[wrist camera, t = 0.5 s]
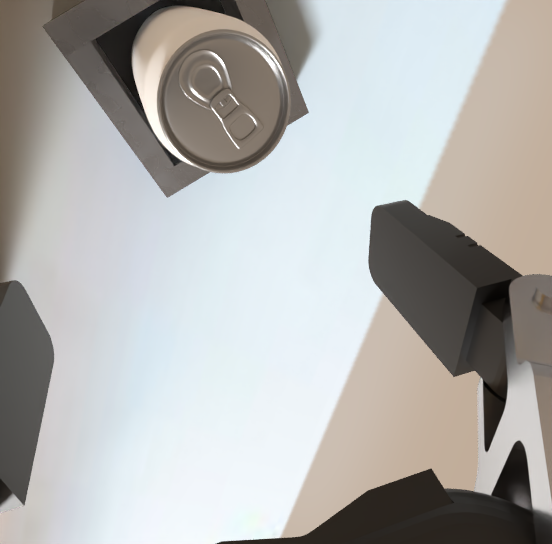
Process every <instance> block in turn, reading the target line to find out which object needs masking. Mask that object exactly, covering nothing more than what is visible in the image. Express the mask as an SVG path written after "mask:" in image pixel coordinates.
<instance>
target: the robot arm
mask: <svg viewBox="0 0 552 544" xmlns="http://www.w3.org/2000/svg"><path fill="white" fill-rule="evenodd" d="M369 269H370V273H371V276H372V279H373V281H374V282H375V284H376V285H377V286H378V287H379V289H380V290H381V291H382V292H383V293H384V295H385V296H386V297H387V298H388V299H389V300H390V302H391V303H392V304H393V305H394V306H395V308H396V309H397V310H398V311H399V312H400V314H401V315H402V316H403V317H404V318H405V320H406V321H408V323H409V324H410V325H411V327H412V328H413V329H414V330H415V331H416V333H417V334H418V335H419V336H420V337H421V339H422V340H423V341H424V342H425V343H426V344H427V346H428V347H429V348H430V349H431V350H432V352H433V353H434V354H435V355H436V356H437V358H438V359H439V360H440V361H441V362H442V363H443V365H444V366H445V367H446V368H447V369H448V371H450V373H451V374H452V375H453V377H455V376H458V375H462V374H465V373H468V372H471V371H476V372H477V373H478V374H479V376H480V381H479V384H478V472H477V478H476V484H475V489H474V491H469V490H461V489H444V488H443V486H442V485H441V483H440V481H439V480H438V479H437V477H436V475H435V474H434V472H433V471H432V469H428V470H426V471H423V472H420V473H417V474H414V475H411V476H408V477H406V478H403V479H400V480H397V481H394V482H392V483H388V484H386V485H383V486H380V487H377V488H374V489H371V490H368V491H367V492H365V493H364V494H363V495H361V496H360V497H358V498H357V499H356V500H354V501H353V502H352V503H351V504H349V505H347V506H346V507H345V508H343V509H342V510H341V511H339V512H338V513H336V514H335V515H334V516H332V517H331V518H330V519H328V520H327V521H326V522H324V523H323V524H321V525H320V526H319V527H317V528H316V529H314V530H313V531H312V532H310V533H308V534H307V535H304V536H301V537H292V538H275V539H258V540H241V541H224V542H219V543H217V544H552V276H550V275H541V274H532V275H525V276H522V275H521V274H519V273H518V272H517V271H515V270H514V269H512V268H511V267H510V266H508V265H507V264H506V263H504V262H503V261H501V260H500V259H499V258H497V257H496V256H495V255H493V254H492V253H490V252H489V251H488V250H486V249H485V248H484V247H482V246H478V245H477V242H475V241H474V240H472V239H471V238H470V237H468V236H466V237H465V234H464V233H463V232H461V231H460V230H458V229H457V228H456V227H454V226H453V225H452V224H450V223H448V222H446V221H443V220H440V219H438V218H435V217H432V216H430V215H426V214H425V213H424V212H422V211H421V210H420V209H418V208H417V207H416V206H414V205H413V204H412V203H410V202H409V201H407V200H403V201H398V202H393V203H389V204H384V205H379V206H376V207H375V208H374V209H373V212H372V216H371V230H370V245H369ZM53 363H54V350H53V345H52V341H51V338H50V335H49V333H48V331H47V330H46V328H45V326H44V324H43V322H42V320H41V318H40V316H39V315H38V313H37V311H36V309H35V307H34V305H33V303H32V301H31V300H30V298H29V296H28V294H27V292H26V290H25V289H24V287H23V286H22V284H21V283H20V282H18V281H16V280H14V281H9V282H4V283H0V513H3V512H6V511H10V510H13V509H16V508H20V507H23V506H24V505H25V500H26V495H27V490H28V485H29V481H30V476H31V471H32V466H33V461H34V456H35V451H36V446H37V442H38V437H39V432H40V427H41V422H42V417H43V412H44V407H45V402H46V398H47V393H48V388H49V383H50V378H51V373H52V368H53Z"/></svg>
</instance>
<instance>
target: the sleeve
mask: <svg viewBox="0 0 552 544" xmlns="http://www.w3.org/2000/svg"><path fill="white" fill-rule="evenodd" d="M157 1H159V0H85V1H83V2H81V3H80V4H78V5H76V6H75V7H73V8H71V9H70V10H68V11H66V12H65V13H63V14H61V15H60V16H58V17H56V18H55V19H53V20H51V21H50V22H48V23H47V24H45V25H44V26H43V28H44V29H45V30H46V32H47V33H48V35H49V36H50V37H51V39H52V40H53V41H54V43H55V44H56V46H57V47H58V48H59V50H60V51H61V52H62V54H63V55H64V57H65V58H66V59H67V61H68V62H69V63H70V65H71V66H72V68H73V69H74V70H75V72H76V73H77V74H78V76H79V77H80V79H81V80H82V81H83V83H84V84H85V85H86V87H87V88H88V90H89V91H90V92H91V94H92V95H93V96H94V98H95V99H96V101H97V102H98V103H99V105H100V106H101V107H102V109H103V110H104V112H105V113H106V114H107V116H108V117H109V118H110V120H111V121H112V123H113V124H114V125H115V127H116V128H117V129H118V131H119V132H120V134H121V135H122V136H123V138H124V139H125V140H126V142H127V143H128V145H129V146H130V147H131V149H132V150H133V151H134V153H135V154H136V156H137V157H138V158H139V160H140V161H141V162H142V164H143V165H144V167H145V168H146V169H147V171H148V172H149V173H150V175H151V176H152V178H153V179H154V180H155V182H156V183H157V184H158V186H159V187H160V189H161V190H162V191H163V193H164V194H165V195H166V197H167V198H168V197H169V196H171V195H173V194H174V193H176V192H178V191H179V190H181V189H183V188H184V187H186V186H188V185H189V184H191V183H193V182H194V181H196V180H198V179H199V178H201V177H203V176H204V175H206V174H208V173H209V171H205V170H202V169H200V168H197V167H195V166H192V165H190V164H188V163H186V162H184V161H182V160H180V159H179V158H177V157H176V156H175V155H173V154H172V153H171V152H170V151H169V150H168V149H167V148H166V147H165V146H164V145H163V144H162V143H161V141H160V140H159V139H158V137H157V136H156V134H155V133H154V131H153V129H152V127H151V125H150V123H149V121H148V119H147V116H146V115H145V113H144V112H143V110H142V109H141V107H140V106H139V104H138V103H137V101H136V100H135V98H134V97H133V95H132V94H131V92H130V91H129V89H128V88H127V86H126V85H125V83H124V82H123V80H122V79H121V77H120V76H119V74H118V73H117V71H116V70H115V68H114V67H113V65H112V64H111V62H110V61H109V59H108V58H107V56H106V55H105V53H104V52H103V50H102V49H101V47H100V46H99V44H98V43H97V41H96V38H98V37H99V36H101V35H103V34H104V33H106V32H108V31H109V30H111V29H112V28H114V27H116V26H117V25H119V24H121V23H122V22H124V21H126V20H127V19H129V18H131V17H132V16H134V15H136V14H137V13H139V12H141V11H142V10H144V9H146V8H147V7H149V6H151V5H152V4H154V3H156V2H157ZM220 2H221V4H222V6H223V9H224V11H225V13H226V15H228V16H231V17H234V18H237V19H239V20H241V21H243V22H245V23H247V24H249V25H250V26H252V27H253V28H255V29H256V30H257V31H258V32H260V33H261V34H262V35H263V36H264V37H265V38H266V39H267V40H268V42H269V43H270V44H271V45H272V47H273V48H274V50H275V52H276V53H277V55H278V57H279V59H280V61H281V64H282V67H283V69H284V71H285V73H286V76H287V79H288V83H289V88H290V95H291V107H290V115H289V120H288V123H287V125H289V124H291V123H292V122H294V121H296V120H297V119H299V118H301V117H302V116H304V115H306V114H307V113H309V112H308V109H307V107H306V104H305V102H304V99H303V97H302V94H301V91H300V89H299V86H298V84H297V81H296V79H295V76H294V73H293V71H292V68H291V66H290V63H289V60H288V58H287V55H286V53H285V50H284V48H283V45H282V42H281V40H280V37H279V35H278V32H277V30H276V27H275V24H274V22H273V19H272V17H271V14H270V12H269V9H268V6H267V4H266V1H265V0H220Z"/></svg>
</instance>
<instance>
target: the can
mask: <svg viewBox="0 0 552 544" xmlns="http://www.w3.org/2000/svg"><path fill="white" fill-rule="evenodd" d="M131 65H132V71H133V76H134V79H135V83H136V86H137V89H138V93H139V96H140V99H141V102H142V105H143V108H144V111H145V113H146V116H147V119H148V121H149V123H150V125H151V127H152V129H153V131H154V133H155V134H156V136H157V137H158V139H159V140H160V141H161V143H162V144H163V145H164V146H165V147H166V148H167V149H168V150H169V151H170V152H171V153H172V154H173V155H175V156H176V157H177V158H179V159H180V160H182V161H184V162H186V163H188V164H190V165H192V166H195V167H197V168H200V169H202V170H205V171H209V172H214V173H234V172H239V171H242V170H245V169H248V168H250V167H252V166H254V165H256V164H258V163H259V162H261V161H262V160H263V159H264V158H266V157H267V156H268V155H269V154H270V153H271V152H272V151H273V150H274V148H275V147H276V146H277V144H278V143H279V141H280V140H281V138H282V136H283V134H284V132H285V129H286V127H287V123H288V120H289V115H290V107H291V95H290V88H289V83H288V79H287V76H286V73H285V71H284V69H283V67H282V64H281V61H280V59H279V57H278V55H277V53H276V52H275V50H274V48H273V47H272V45H271V44H270V43H269V42H268V40H267V39H266V38H265V37H264V36H263V35H262V34H261V33H260V32H258V31H257V30H256V29H255V28H253V27H252V26H250V25H249V24H247V23H245V22H243V21H241V20H239V19H237V18H234V17H231V16H228V15H224V14H221V13H217V12H213V11H208V10H204V9H200V8H195V7H190V6H169V7H165V8H162V9H159V10H157V11H155V12H154V13H153V14H151V15H150V16H149V17H148V18H147V19H146V20H145V21H144V23H143V24H142V25H141V27H140V28H139V30H138V32H137V34H136V36H135V38H134V41H133V45H132V51H131Z"/></svg>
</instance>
